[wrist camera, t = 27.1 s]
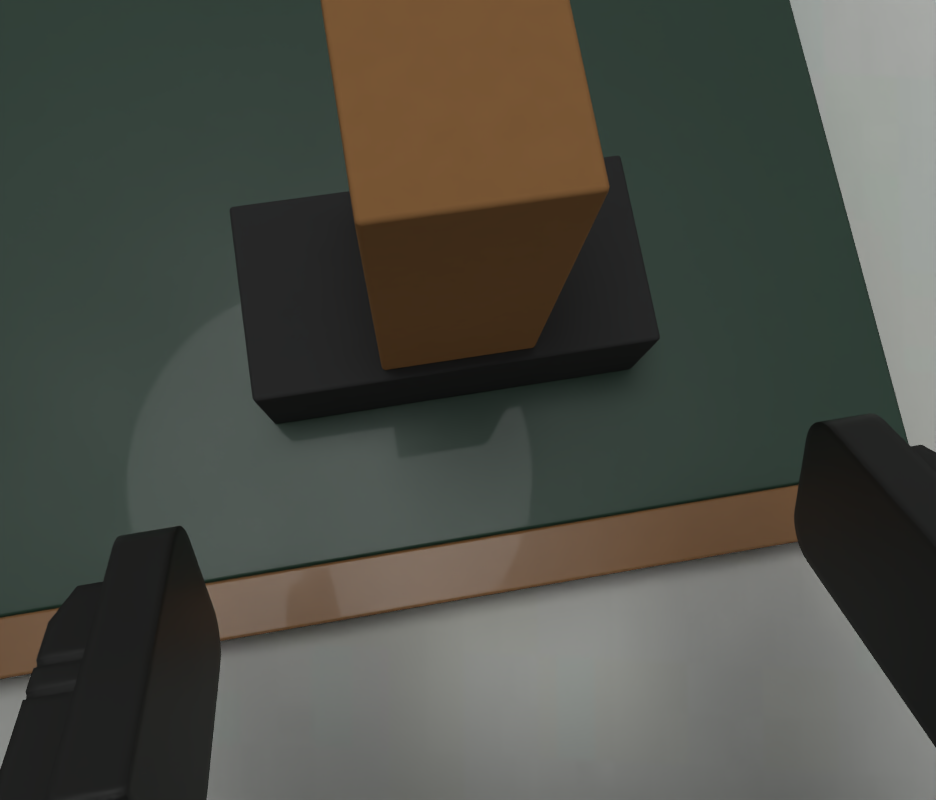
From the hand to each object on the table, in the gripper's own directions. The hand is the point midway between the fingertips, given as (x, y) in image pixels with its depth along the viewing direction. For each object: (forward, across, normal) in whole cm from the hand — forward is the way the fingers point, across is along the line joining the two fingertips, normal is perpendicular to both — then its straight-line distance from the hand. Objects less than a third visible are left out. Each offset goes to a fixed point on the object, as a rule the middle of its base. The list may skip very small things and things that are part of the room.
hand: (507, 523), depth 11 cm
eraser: (+9, 0, +2) cm, 9 cm away
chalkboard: (+12, 0, 0) cm, 12 cm away
